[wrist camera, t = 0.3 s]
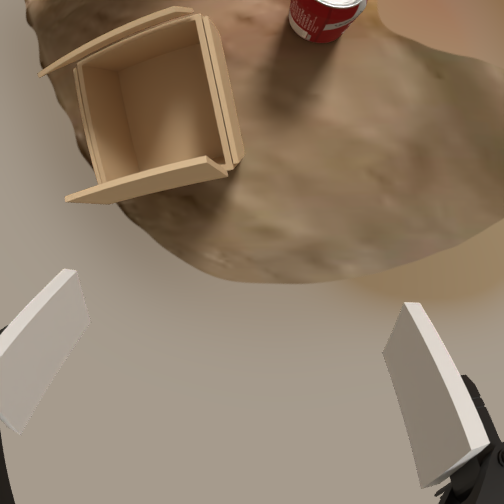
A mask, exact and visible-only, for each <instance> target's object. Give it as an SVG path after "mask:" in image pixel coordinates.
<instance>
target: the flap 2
mask: <svg viewBox="0 0 504 504" xmlns="http://www.w3.org/2000/svg"><path fill="white" fill-rule="evenodd" d="M224 177H228V173H227V171H226V170H225V169H223V168H222V167H221V166H219V165H218V164H217V163H215V162H214V161H213V160H211V159H210V158H209V157H207V156H201V157H197V158H193V159H188V160H184V161H180V162H176V163H172V164H168V165H164V166H160V167H157V168H153V169H149V170H146V171H142V172H139V173H135V174H132V175H128V176H125V177H122V178H118V179H115V180H112V181H109V182H106V183H102V184H99V185H96V186H93V187H91V188H87V189H85V190H81V191H79V192H76V193H73V194H70V195H67V196H65V202H73V203H91V204H112V203H116V202H120V201H123V200H127V199H131V198H135V197H139V196H143V195H147V194H151V193H155V192H159V191H163V190H168V189H172V188H176V187H181V186H185V185H190V184H195V183H199V182H204V181H209V180H214V179H219V178H224Z"/></svg>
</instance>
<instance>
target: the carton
mask: <svg viewBox="0 0 504 504" xmlns="http://www.w3.org/2000/svg"><path fill="white" fill-rule="evenodd" d="M73 72H74V79H75V85H76V91H77V97H78V102H79V107H80V113H81V117H82V122H83V127H84V131H85V136H86V140H87V144H88V148H89V152H90V156H91V160H92V164H93V168H94V171H95V175H96V179H97V182H98V185H99V184H102V183H106V182H109V181H112V180H115V179H118V178H122V177H125V176H128V175H132V174H135V173H139V172H142V171H146V170H149V169H153V168H157V167H160V166H164V165H168V164H172V163H176V162H180V161H184V160H188V159H193V158H197V157H201V156H207V157H209V158H210V159H211V160H213V161H214V162H215V163H217V164H218V165H219V166H221V167H222V168H223V169H225V170H226V171H227V170H233V169H234V168H235V167H236V165H237V164H238V163H239V162H240V161H241V159H242V158H243V157H244V155H245V151H244V146H243V141H242V137H241V132H240V127H239V122H238V117H237V112H236V108H235V103H234V98H233V93H232V88H231V84H230V79H229V74H228V70H227V65H226V60H225V56H224V51H223V46H222V42H221V37H220V33H219V31H218V30H217V28H216V27H215V25H214V24H213V22H212V21H211V20H210V18H209V17H208V16H204V17H203V16H202V14H201V13H199V14H195V15H192V16H188V17H185V18H182V19H179V20H175V21H172V22H169V23H166V24H163V25H160V26H158V27H155V28H152V29H149V30H147V31H144V32H142V33H139V34H137V35H134V36H132V37H129V38H127V39H125V40H122V41H120V42H118V43H116V44H114V45H111V46H109V47H107V48H105V49H103V50H101V51H99V52H97V53H95V54H93V55H91V56H89V57H87V58H85V59H83V60H82V61H80V62H78V63H77V67H76V68H74V69H73Z"/></svg>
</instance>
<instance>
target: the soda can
mask: <svg viewBox="0 0 504 504" xmlns="http://www.w3.org/2000/svg"><path fill="white" fill-rule="evenodd" d="M366 4H367V0H291V3H290V10H289V22H290V25H291V27H292V29H293V30H294V31H295V33H297V34H298V35H299V36H300V37H302V38H303V39H305V40H307V41H310V42H314V43H328V42H332V41H334V40H336V39H337V38H339V37H340V36H341V35H342V33H343V32H344V31H345V30H346V29H347V28H348V27H349V26H350V24H351V23H352V22H353V21H354V20H355V19H356V18H357V17H358V16H359V15H360V13H361V12H362V11H363V10H364V9H365V7H366Z"/></svg>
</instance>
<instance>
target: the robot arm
mask: <svg viewBox="0 0 504 504" xmlns="http://www.w3.org/2000/svg"><path fill="white" fill-rule="evenodd" d="M90 323H91V320H90V316H89V313H88V310H87V306H86V303H85V299H84V296H83V292H82V288H81V284H80V281H79V276H78V272H77V270H71V269H63V270H62V271H61V272H60V273H59V274H57V275H56V276H55V277H54V278H53V279H52V280H51V282H49V283H48V284H47V285H46V286H45V287H44V288H43V289H42V290H41V291H40V293H38V294H37V295H36V297H34V299H32V300H31V302H30V303H29V304H28V305H27V306H26V307H25V308H24V309H23V310H22V311H21V312H20V313H19V314H18V315H17V317H16V318H15V319H14V320H13V321H12V322H11V323H10V324H9V325H7V326H6V327H4V328H3V329H1V330H0V419H1V420H2V422H3V423H4V424H5V425H6V426H7V427H8V428H10V429H12V430H13V431H15V432H16V433H18V434H20V435H21V433H22V432H23V430H24V428H25V426H26V424H27V423H28V421H29V419H30V417H31V415H32V414H33V412H34V410H35V408H36V407H37V405H38V403H39V402H40V400H41V398H42V397H43V395H44V393H45V392H46V390H47V388H48V387H49V385H50V383H51V382H52V380H53V379H54V377H55V375H56V374H57V372H58V371H59V369H60V367H61V366H62V364H63V363H64V361H65V360H66V358H67V357H68V355H69V354H70V352H71V351H72V349H73V348H74V346H75V345H76V343H77V342H78V340H79V339H80V337H81V336H82V335H83V333H84V331H85V330H86V329H87V327H88V326H89V324H90ZM382 353H383V356H384V359H385V362H386V364H387V368H388V371H389V373H390V377H391V380H392V383H393V386H394V389H395V392H396V395H397V398H398V401H399V405H400V408H401V412H402V415H403V418H404V422H405V425H406V429H407V433H408V436H409V440H410V444H411V448H412V452H413V455H414V459H415V464H416V468H417V473H418V477H419V481H420V486H421V489H422V488H426V487H430V486H433V485H437V484H440V483H441V482H442V481H444V480H445V479H447V478H448V477H449V476H450V479H451V482H450V483H449V484H447V485H446V486H444V487H443V488H441V489H440V490H438V491H437V492H436V494H435V496H436V497H437V496H438V495H440V494H441V493H443V492H444V493H443V495H442V496H441V497H440V499H441V500H440V502H439V504H504V442H501V440H500V439H499V436H498V434H497V432H496V429H495V427H494V424H493V422H492V420H491V417H490V415H489V413H488V411H487V409H486V407H484V405H485V404H484V402H483V400H482V399H481V398H480V394H479V392H478V390H477V388H476V386H475V384H474V383H473V382H472V381H471V380H470V379H469V378H468V377H467V375H460V374H459V372H458V370H457V368H456V366H455V364H454V362H453V360H452V359H451V357H450V355H449V353H448V351H447V349H446V347H445V346H444V344H443V342H442V340H441V338H440V336H439V335H438V333H437V331H436V329H435V328H434V326H433V324H432V322H431V321H430V319H429V317H428V316H427V314H426V312H425V311H424V309H423V307H422V306H421V304H420V303H408V302H404V304H403V306H402V309H401V311H400V314H399V316H398V318H397V321H396V323H395V326H394V328H393V330H392V333H391V335H390V338H389V339H388V342H387V344H386V346H385V349H384V350H383V352H382ZM0 504H15V502H14V498H13V494H12V490H11V486H10V483H9V479H8V474H7V469H6V464H5V459H4V453H3V446H2V439H1V433H0Z"/></svg>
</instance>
